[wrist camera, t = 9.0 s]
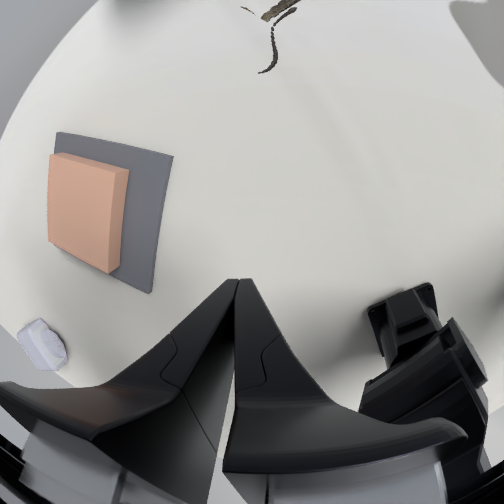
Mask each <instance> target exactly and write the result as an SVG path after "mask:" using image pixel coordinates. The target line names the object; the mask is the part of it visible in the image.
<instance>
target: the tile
mask: <svg viewBox="0 0 504 504" xmlns="http://www.w3.org/2000/svg"><path fill="white" fill-rule="evenodd" d="M128 176H129V170H128V169H124V168H120V167H117V166H113V165H110V164H106V163H102V162H99V161H95V160H91V159H87V158H84V157H80V156H76V155H72V154H68V153H64V152H63V153H57V154H51V155H50V160H49V173H48V196H47V220H48V241H49V242H51V243H53V244H54V245H56V246H58V247H60V248H61V249H63V250H65V251H67V252H68V253H70V254H72V255H74V256H75V257H77V258H79V259H81V260H83V261H84V262H86V263H88V264H90V265H92V266H94V267H96V268H98V269H99V270H101V271H103V272H105V273H107V274H109V273H110V272H111V271H113V270H114V269H116V268H117V267H118V266H120V249H121V235H122V223H123V214H124V205H125V197H126V189H127V182H128Z"/></svg>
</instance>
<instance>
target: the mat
mask: <svg viewBox="0 0 504 504" xmlns="http://www.w3.org/2000/svg"><path fill="white" fill-rule="evenodd" d="M63 152H64V153H68V154H72V155H76V156H80V157H84V158H87V159H91V160H95V161H99V162H102V163H106V164H110V165H113V166H117V167H120V168H124V169H128V170H129V176H128V182H127V189H126V197H125V205H124V214H123V223H122V235H121V249H120V266H118V267H117V268H116V269H114V270H113V271H111V272H110V273H109V275H111V276H113V277H115V278H117V279H119V280H121V281H123V282H125V283H127V284H129V285H131V286H133V287H135V288H137V289H140V290H142V291H144V292H146V293H148V294H149V293H150V292H151V291H152V284H153V275H154V267H155V259H156V251H157V244H158V237H159V230H160V224H161V218H162V212H163V206H164V201H165V195H166V190H167V185H168V180H169V175H170V170H171V166H172V161H173V157H174V156H170V155H166V154H163V153H159V152H155V151H151V150H146V149H142V148H138V147H134V146H129V145H125V144H120V143H116V142H111V141H106V140H101V139H96V138H91V137H86V136H81V135H75V134H69V133H63V132H57V133H56V141H55V149H54V154H57V153H63Z"/></svg>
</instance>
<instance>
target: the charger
mask: <svg viewBox="0 0 504 504" xmlns="http://www.w3.org/2000/svg"><path fill="white" fill-rule="evenodd" d="M17 339H18V341H19V342H20V344H21V345H22V347H23V349H24V350H25V352H26V353H27V354H28V356H29V357H30V358H31V360H32V361H33V363H34V364H35V366H36V367H37V368H38V369H39V370H42V371H58V370H59V369H60V368H61V367H62V366H63V365H64V364H65V363H66V362H67V361H68V356H67V354H66V351H65V347H64V344H63V343H62V342H61V340H60V339H59V337H58V336H57V334H56V333H54V332H53V331H51V330H50V329H49V327H48V325H47V324H46V323H45V322H44V320H42V319H38V320H36V321H34V322H32V323H30V324H28V325H26V326H25V327H24V328H22V329H21V330H20V331H19V332H18V333H17Z"/></svg>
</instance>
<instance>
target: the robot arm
mask: <svg viewBox="0 0 504 504" xmlns="http://www.w3.org/2000/svg"><path fill="white" fill-rule="evenodd" d="M428 287H429V289H428V290H426V289H427V288H428ZM372 310H375V312H371V311H372ZM367 312H368V316H369V318H370V321H371V324H372V327H373V330H374V333H375V336H376V339H377V342H378V346H379V349H380V352H381V355H382V357H385V361H386V366H387V370H386V371H385V372H383V373H382V374H380V375H379V376H377V377H376V378H374V379H373V380H372V379H371V380H369V381H367V382H366V383H365V387H364V391H363V395H362V399H361V403H360V406H359V410H358V412H355V411H353V410H351V409H348V408H346V407H343V406H341V405H339V404H337V403H336V402H334V401H333V400H332V399H330V398H329V397H328V396H327V395H326V393H325V392H324V391H323V390H322V389H321V388H320V386H319V385H318V384H317V383H316V381H315V380H314V379H313V378H312V377H311V375H310V374H309V373H308V372H307V371H306V369H305V368H304V367H303V366H302V364H301V363H300V362H299V360H298V359H297V358H296V356H295V355H294V353H293V352H292V350H291V349H290V347H289V345H288V344H287V342H286V340H285V338H284V337H283V335H282V333H281V331H280V330H279V328H278V326H277V324H276V322H275V320H274V319H273V317H272V315H271V313H270V311H269V310H268V308H267V306H266V304H265V302H264V300H263V298H262V297H261V295H260V293H259V291H258V289H257V287H256V286H255V284H254V282H253V280H252V279H251V278H246V279H240V280H239V279H227V280H226V281H225V282H223V283H222V284H221V285H220V286H219V287H218V288H217V289H216V290H215V291H214V292H213V293H212V294H211V295H210V296H208V297H207V298H206V299H205V300H204V301H203V302H202V303H201V304H200V305H199V306H198V307H197V308H196V309H195V310H193V311H192V312H191V313H190V314H189V315H188V316H187V317H186V318H185V319H184V320H183V321H182V322H181V323H179V324H178V325H177V326H176V327H175V328H174V329H173V330H172V331H171V332H170V334H168V335H166V336H165V337H164V338H163V339H162V340H161V341H160V342H159V343H158V344H157V345H155V346H154V347H153V348H152V349H151V350H150V351H148V352H147V353H146V354H144V355H143V356H142V357H141V358H139V359H138V360H137V361H135V362H134V363H133V364H131V365H130V366H129V367H127V368H126V369H124V370H123V371H122V372H120V373H119V374H118V375H116V376H115V377H114V378H112V379H111V380H109V381H108V382H106V383H104V384H101V385H99V386H94V387H85V388H66V389H33V388H26V387H23V386H20V385H18V384H16V383H14V382H10V381H9V382H8V381H7V382H0V405H1V406H2V407H3V408H4V409H5V410H6V411H7V412H8V413H9V414H10V415H11V416H12V417H13V418H14V419H15V420H16V421H17V422H19V423H20V424H21V425H22V426H23V427H24V428H25V429H27V430H28V431H29V432H30V434H29V436H28V438H27V440H26V443H25V445H24V447H23V449H22V450H21V449H19V448H18V447H16V446H15V445H14V444H12V443H11V442H10V441H8V440H7V439H6V438H5V437H3V436H2V435H1V434H0V504H207V499H208V495H209V489H210V485H211V480H212V476H213V471H214V466H215V461H216V457H217V454H216V453H217V451H218V447H219V442H220V437H221V432H222V427H223V422H224V417H225V412H226V407H227V403H228V398H229V393H230V388H231V383H232V378H233V373H234V371H235V411H234V415H233V420H232V424H231V428H230V433H229V437H228V441H227V446H226V450H225V454H224V459H223V467H222V472H223V473H224V475H225V476H226V477H227V479H228V480H229V481H230V483H231V484H232V485H233V486H234V488H235V489H236V490H237V491H238V493H239V494H240V495H241V496H242V498H243V499H244V500H245V501H246V502H247V503H248V504H504V460H503V461H502V462H500V463H499V464H497V465H496V466H494V467H492V468H491V465H490V462H489V459H488V457H487V454H486V452H485V449H484V446H483V444H484V439H485V434H486V428H487V421H488V399H487V397H486V395H485V392H484V390H483V388H482V385H483V384H485V383H486V382H487V381H488V379H487V375H486V372H485V368H484V365H483V363H482V361H481V359H480V358H479V356H478V354H477V352H476V351H475V349H474V347H473V345H472V344H471V342H470V341H469V340H468V338H467V337H466V335H465V334H464V332H463V331H462V330H461V328H460V327H459V325H458V324H457V323H456V321H455V320H454V319H453V317H452V318H451V319H450V320H449V321H447V324H446V325H445V326H444V327H442V325H441V323H440V321H439V319H438V312H437V306H436V300H435V294H434V289H433V286H432V284H431V283H429V282H428V283H425V284H423V285H420V286H418V287H416V288H413V289H410V290H407V291H405V292H403V293H400V294H398V295H395V296H393V297H391V298H388V299H387V300H385V301H382V302H380V303H377V304H375V305H372V306H370V307H369V308H368V310H367Z"/></svg>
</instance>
